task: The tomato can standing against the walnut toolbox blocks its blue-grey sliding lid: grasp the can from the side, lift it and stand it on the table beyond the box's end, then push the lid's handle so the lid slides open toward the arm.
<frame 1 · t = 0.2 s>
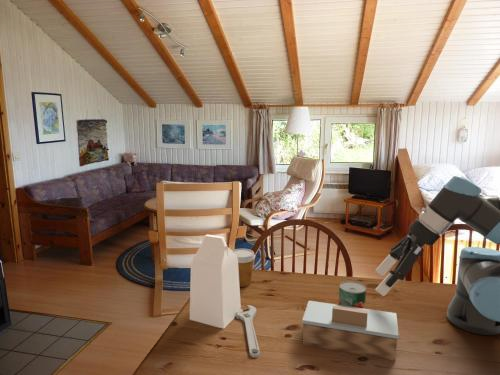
hand: (379, 282, 111), 15 cm above the table, tool tilted 35°, fingers open, 13 cm apart
disposable coffee cup: (242, 283, 144), on the table
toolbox: (348, 340, 108), on the table
milk: (215, 315, 122), on the table, touching adjustable wrench
adjustable wrench: (247, 332, 113), on the table, touching milk
canned tomato: (350, 320, 119), on the table
lid: (350, 311, 106), point 9 cm above the table, slide at 0.0 cm
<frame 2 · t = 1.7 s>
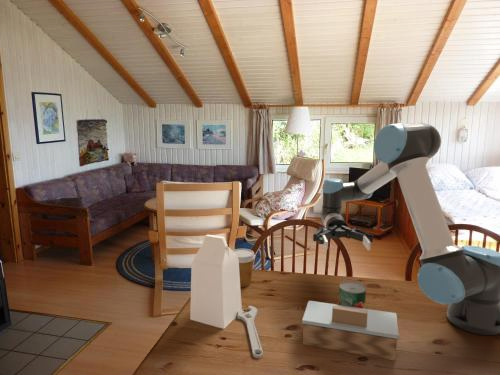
hand: (347, 246, 124), 20 cm above the table, tool horizontal, fingers open, 13 cm apart
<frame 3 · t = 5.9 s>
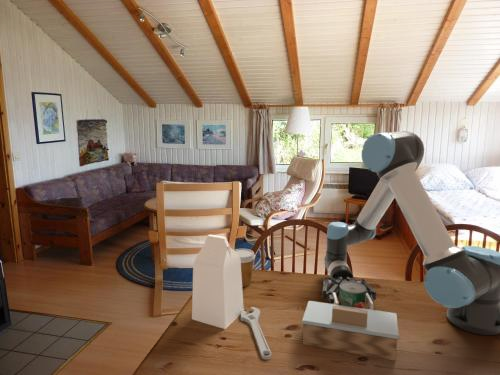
hand: (354, 307, 113), 6 cm above the table, tool horizontal, fingers open, 9 cm apart
milk: (218, 315, 122), on the table
adjustable wrench: (254, 334, 112), on the table
lid: (350, 311, 106), point 9 cm above the table, slide at -0.1 cm, touching gripper
everything else where it was.
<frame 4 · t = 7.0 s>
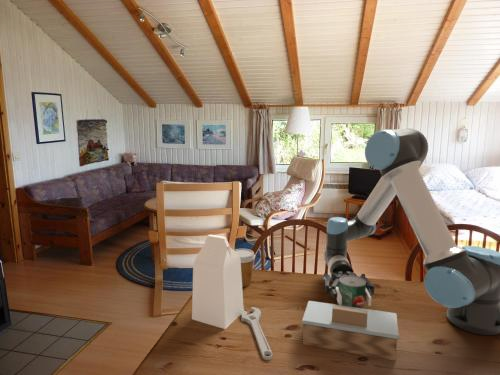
hand: (355, 301, 113), 8 cm above the table, tool horizontal, fingers closed on canned tomato, 8 cm apart
canned tomato: (350, 314, 118), point 2 cm above the table, touching gripper
lid: (350, 311, 106), point 9 cm above the table, slide at -0.1 cm
when the fingers open (7 cm above the table, at t = 11.3 s): canned tomato drops 1 cm, on the table.
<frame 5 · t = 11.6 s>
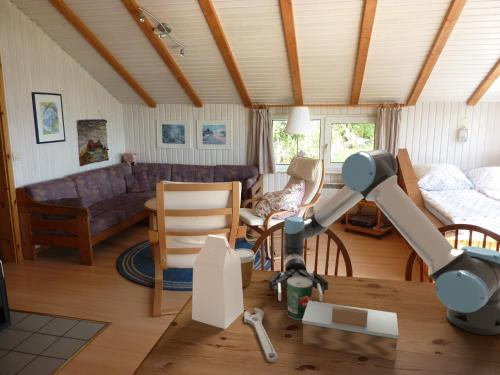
hand: (300, 296, 118), 7 cm above the table, tool horizontal, fingers open, 12 cm apart
adjustable wrench: (258, 336, 111), on the table
canned tomato: (298, 314, 122), on the table
everything else where it was.
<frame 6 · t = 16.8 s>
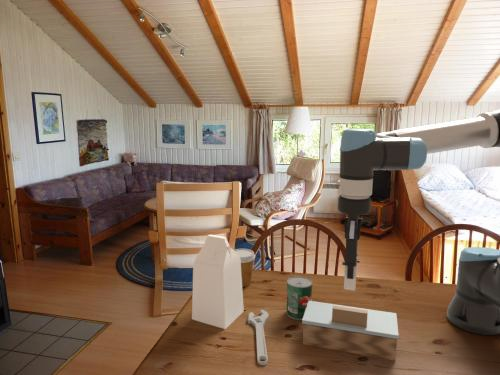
hand: (349, 288, 95), 20 cm above the table, tool pointing down, fingers closed
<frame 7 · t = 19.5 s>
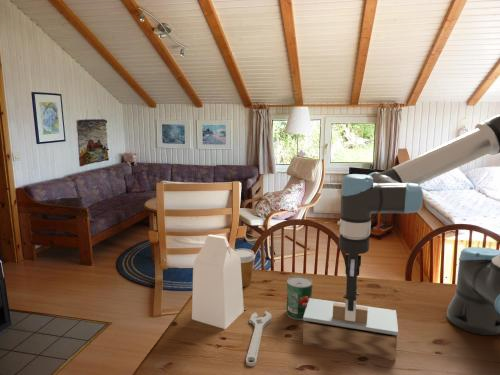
hand: (350, 319, 103), 8 cm above the table, tool pointing down, fingers closed
lid: (350, 308, 108), point 9 cm above the table, slide at 1.6 cm, touching gripper
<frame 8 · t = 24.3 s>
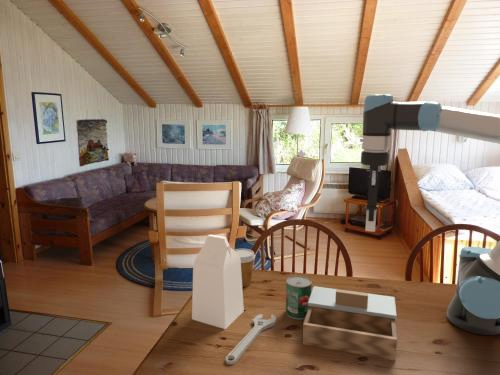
hand: (370, 230, 114), 28 cm above the table, tool pointing down, fingers closed
adjustable wrench: (249, 339, 110), on the table
lid: (352, 295, 116), point 9 cm above the table, slide at 10.0 cm
everything else where it was.
at the end: lid slide at 10.0 cm; canned tomato inside the target area (0.2 cm from its centre), on the table; canned tomato tilted 0° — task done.
